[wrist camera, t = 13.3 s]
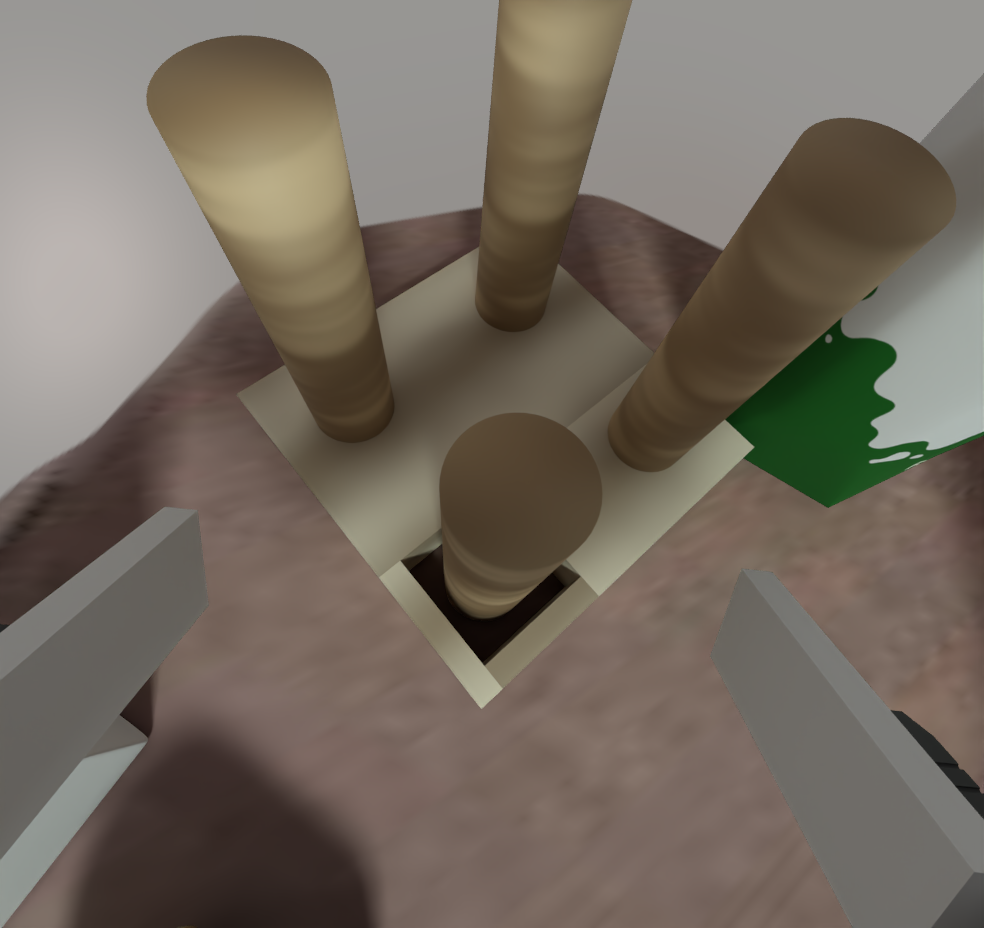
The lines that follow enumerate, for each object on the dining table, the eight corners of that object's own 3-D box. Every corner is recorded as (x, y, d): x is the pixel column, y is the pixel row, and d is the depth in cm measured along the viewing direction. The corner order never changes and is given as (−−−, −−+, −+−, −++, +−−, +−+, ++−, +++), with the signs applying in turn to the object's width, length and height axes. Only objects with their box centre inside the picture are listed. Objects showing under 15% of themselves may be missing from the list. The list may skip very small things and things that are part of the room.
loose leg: (537, 585, 23) (635, 496, 11) (479, 638, 22) (515, 605, 10) (487, 528, 24) (527, 385, 12) (428, 577, 23) (405, 475, 11)
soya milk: (740, 322, 29) (1259, -277, 11) (890, 404, 28) (1769, -108, 9) (676, 438, 26) (1245, -117, 8) (841, 535, 25) (1998, 164, 6)
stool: (720, 470, 26) (1100, 205, 11) (476, 703, 21) (552, 801, 6) (509, 266, 29) (575, -146, 14) (259, 424, 24) (-28, 56, 10)
